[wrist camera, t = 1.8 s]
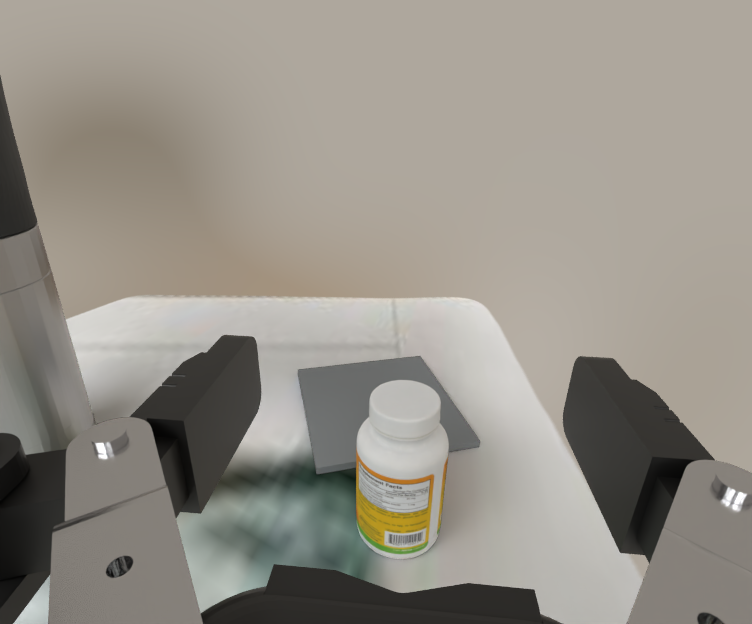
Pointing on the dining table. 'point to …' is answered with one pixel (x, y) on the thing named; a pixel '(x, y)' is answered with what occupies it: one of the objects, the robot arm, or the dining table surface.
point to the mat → (364, 407)
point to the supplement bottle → (401, 470)
